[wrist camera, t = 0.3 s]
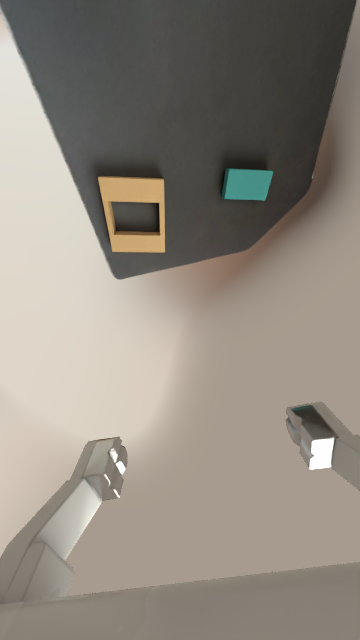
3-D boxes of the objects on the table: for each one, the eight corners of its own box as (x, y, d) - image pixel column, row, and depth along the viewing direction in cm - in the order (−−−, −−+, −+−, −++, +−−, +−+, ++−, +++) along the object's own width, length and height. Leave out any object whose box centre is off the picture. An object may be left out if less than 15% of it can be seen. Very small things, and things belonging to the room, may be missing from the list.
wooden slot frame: (101, 175, 42) (97, 177, 40) (163, 178, 43) (163, 179, 41) (114, 247, 53) (112, 251, 50) (164, 248, 54) (165, 252, 52)
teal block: (225, 168, 43) (229, 168, 41) (268, 170, 44) (273, 171, 41) (221, 196, 46) (224, 198, 44) (260, 198, 47) (265, 200, 45)
